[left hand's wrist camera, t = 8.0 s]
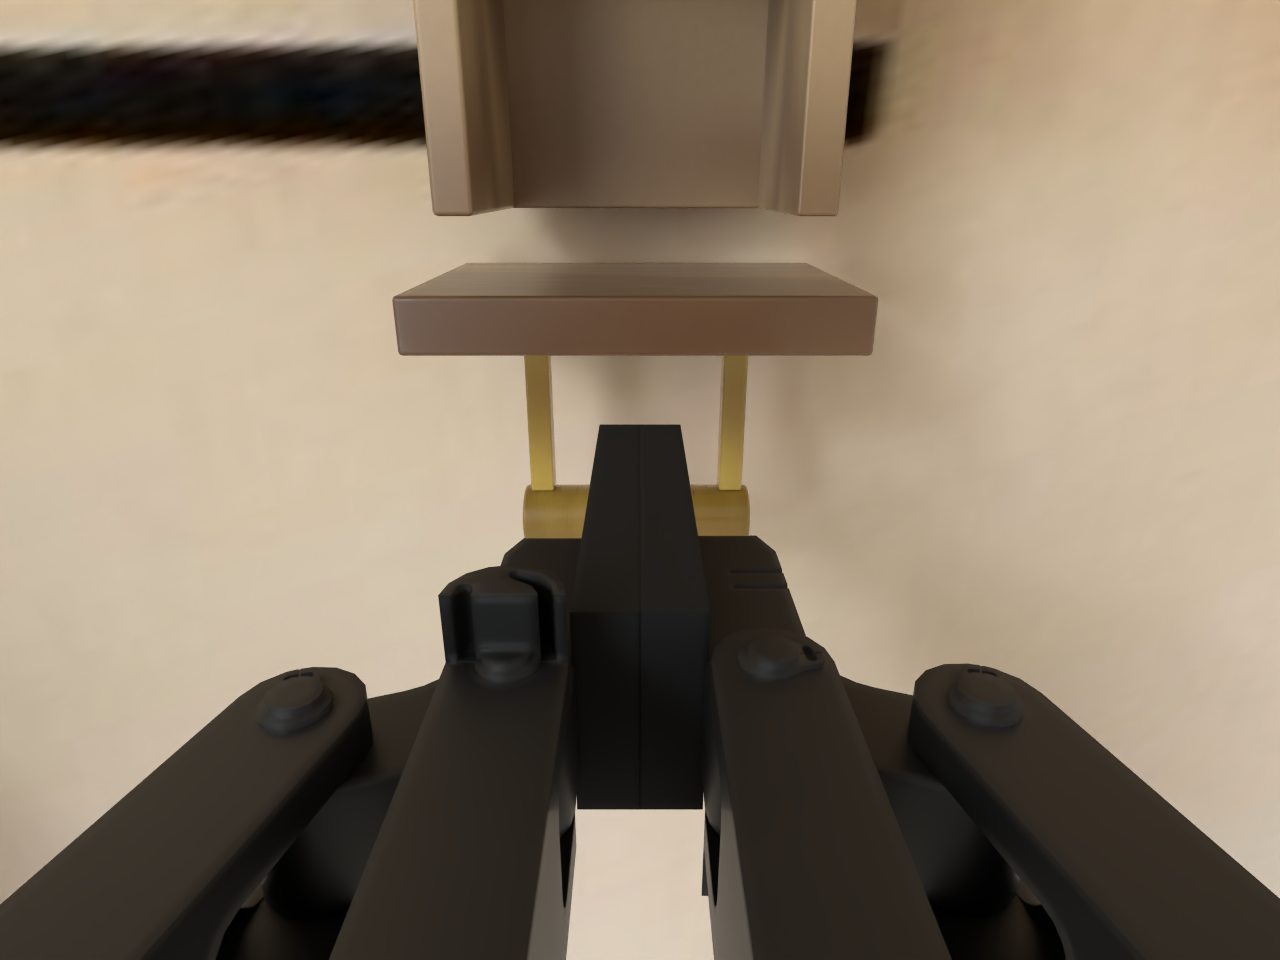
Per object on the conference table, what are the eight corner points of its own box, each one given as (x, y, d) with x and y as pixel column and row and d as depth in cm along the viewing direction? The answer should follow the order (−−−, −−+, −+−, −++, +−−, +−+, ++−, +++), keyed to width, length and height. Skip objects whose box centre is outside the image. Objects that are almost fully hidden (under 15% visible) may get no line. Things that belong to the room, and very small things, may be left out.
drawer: (789, 499, 24) (844, 613, 18) (483, 499, 24) (427, 614, 18) (881, -692, 15) (1063, -1346, 9) (388, -693, 15) (200, -1346, 9)
